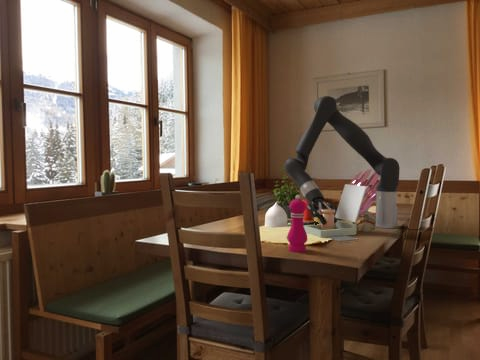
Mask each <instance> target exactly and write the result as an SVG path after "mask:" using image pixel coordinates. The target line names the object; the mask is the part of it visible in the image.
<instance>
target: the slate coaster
mask: <svg viewBox="0 0 480 360" xmlns="http://www.w3.org/2000/svg"><path fill="white" fill-rule="evenodd" d="M326 238H327V239H330V240H334V241H337V242H340V243H342V242H346V244H348V243H351V242H352V241H359V239H358V238H356V237H352V236H350V235H341V236H329V237H326Z"/></svg>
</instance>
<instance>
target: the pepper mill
mask: <svg viewBox="0 0 480 360" xmlns="http://www.w3.org/2000/svg"><path fill="white" fill-rule="evenodd" d="M306 207H307V204H306V202H305V200H302V199H301V195H299V194H296V195H295V199H293V200H291V201H290V203H289V210H290V211H291V212H290V218H291V226H290V228H289V230H288V233H287V236H286V237H287V241H288V243H289V244H288V251H289V252H292V253H293V252H295V253H302V252H306V250H307V246H306V242H308V235H307V234H308V233H306V231H305V229H304V226H303V225H304V218H305V217H306V216H305V213H304V212H306V209H307V208H306Z"/></svg>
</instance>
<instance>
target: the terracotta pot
mask: <svg viewBox="0 0 480 360" xmlns="http://www.w3.org/2000/svg"><path fill="white" fill-rule="evenodd" d="M335 210H336V209H335ZM335 210H334V209H322V210H321V213H322V215H323V216H324V218H325V220H326V221H327V223H326V224H325V225H323V224H322V223H321V230H331V229H334V215H335V214H336V213H335ZM334 213H335V214H334Z"/></svg>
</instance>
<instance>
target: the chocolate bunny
mask: <svg viewBox="0 0 480 360" xmlns="http://www.w3.org/2000/svg"><path fill="white" fill-rule="evenodd" d="M370 212H371V211H369V210H367V211H366V212H365V213H364V214H363V217H364V219H365V221H364V222H363V223H361V224H360V226H359V227H358V229H357V231H358V232H371V233H375V228H376V227H377V226H376V218H375V217H374V216H375V215H371V213H370Z"/></svg>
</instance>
